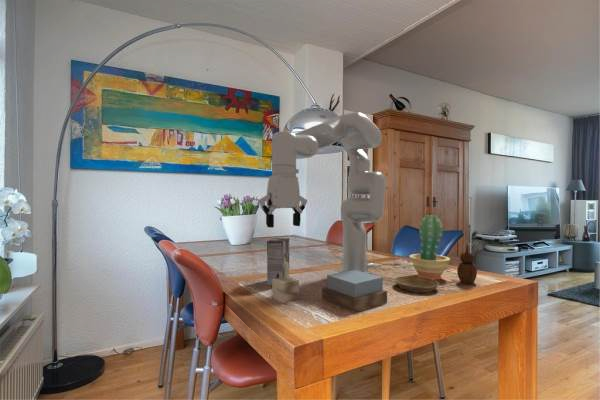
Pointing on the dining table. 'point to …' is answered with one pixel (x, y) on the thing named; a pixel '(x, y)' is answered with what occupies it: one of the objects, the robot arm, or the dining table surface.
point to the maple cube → (285, 289)
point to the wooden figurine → (467, 268)
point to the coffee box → (277, 259)
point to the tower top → (355, 283)
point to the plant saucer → (416, 284)
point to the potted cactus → (430, 249)
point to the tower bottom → (354, 299)
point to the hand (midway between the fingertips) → (283, 226)
